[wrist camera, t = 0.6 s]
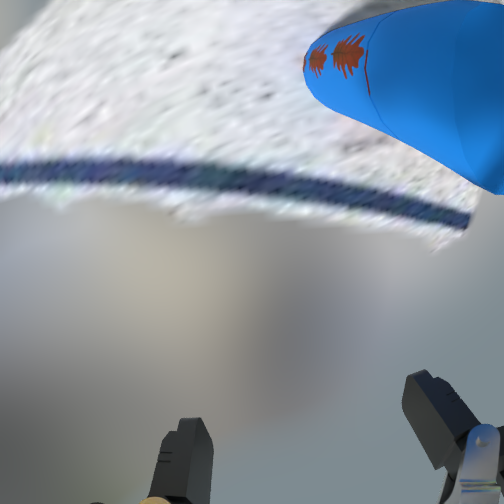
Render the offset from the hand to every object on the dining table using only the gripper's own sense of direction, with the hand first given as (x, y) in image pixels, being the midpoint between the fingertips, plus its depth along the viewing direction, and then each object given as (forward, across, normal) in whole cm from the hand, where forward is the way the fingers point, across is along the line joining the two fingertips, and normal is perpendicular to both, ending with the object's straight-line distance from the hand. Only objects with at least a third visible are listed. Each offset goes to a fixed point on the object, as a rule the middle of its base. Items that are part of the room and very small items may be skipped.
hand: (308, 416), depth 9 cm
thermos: (+25, -13, -20) cm, 35 cm away
